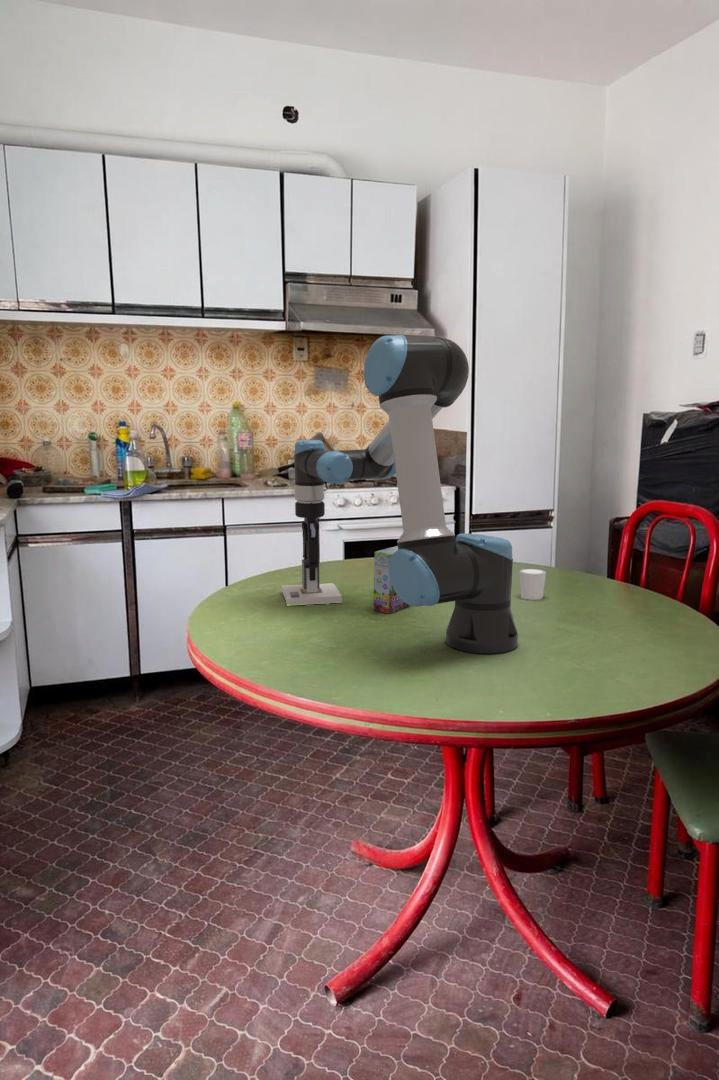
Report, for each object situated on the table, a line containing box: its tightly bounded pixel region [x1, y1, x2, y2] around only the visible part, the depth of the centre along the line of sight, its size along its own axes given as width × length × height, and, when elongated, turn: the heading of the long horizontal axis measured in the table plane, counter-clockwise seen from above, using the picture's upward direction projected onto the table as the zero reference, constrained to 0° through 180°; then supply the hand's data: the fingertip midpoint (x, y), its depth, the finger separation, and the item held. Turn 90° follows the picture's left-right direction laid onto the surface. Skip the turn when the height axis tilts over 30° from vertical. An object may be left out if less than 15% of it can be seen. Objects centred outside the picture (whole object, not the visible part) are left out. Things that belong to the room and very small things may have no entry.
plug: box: [301, 558, 320, 594], centre depth 197 cm, size 4×4×10 cm
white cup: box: [519, 568, 547, 601], centre depth 198 cm, size 7×7×7 cm
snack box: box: [372, 545, 411, 614], centre depth 191 cm, size 21×6×15 cm, turn 143°
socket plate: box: [281, 582, 343, 605], centre depth 198 cm, size 14×14×3 cm
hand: (310, 589), depth 198 cm, fingers open, 5 cm apart
